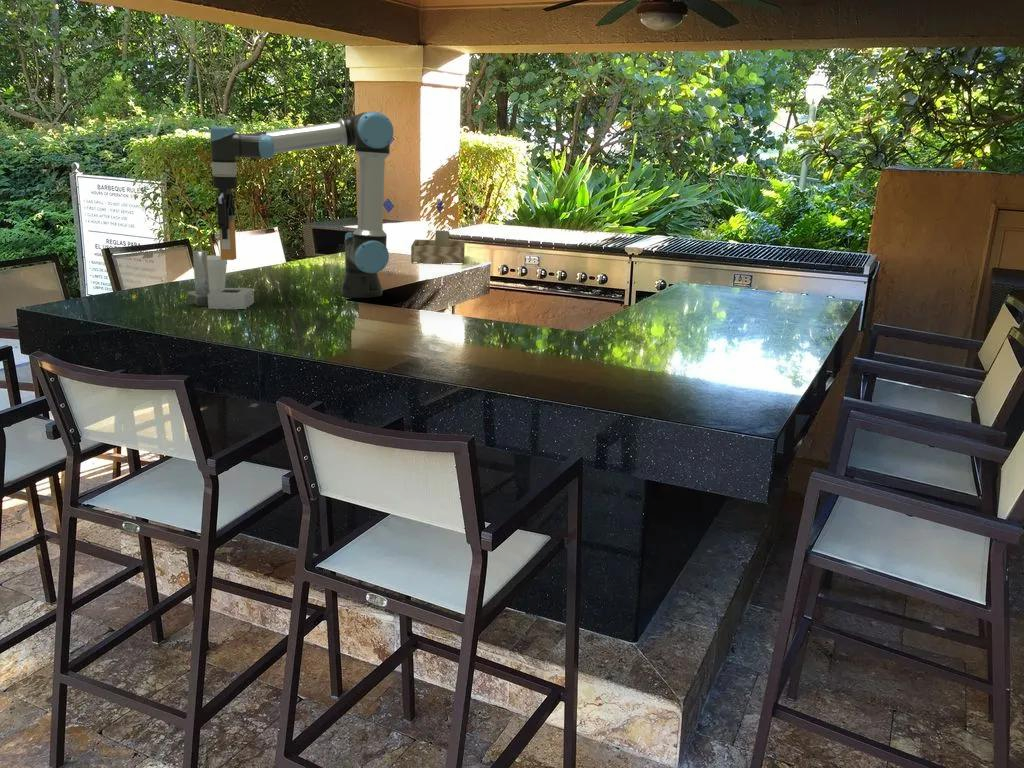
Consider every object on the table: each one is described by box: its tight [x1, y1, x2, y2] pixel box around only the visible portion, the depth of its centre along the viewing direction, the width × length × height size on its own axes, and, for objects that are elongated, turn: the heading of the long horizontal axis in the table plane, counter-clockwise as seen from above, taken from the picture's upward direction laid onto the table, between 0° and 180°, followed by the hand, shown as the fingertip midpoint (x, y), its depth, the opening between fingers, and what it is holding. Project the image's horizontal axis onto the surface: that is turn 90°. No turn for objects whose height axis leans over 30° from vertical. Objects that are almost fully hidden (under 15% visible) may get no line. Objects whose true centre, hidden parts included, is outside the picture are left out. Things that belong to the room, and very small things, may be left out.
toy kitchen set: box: [425, 229, 452, 247], centre depth 411 cm, size 18×17×15 cm
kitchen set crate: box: [410, 239, 466, 265], centre depth 412 cm, size 24×26×8 cm
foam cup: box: [207, 255, 228, 291], centre depth 308 cm, size 10×9×13 cm
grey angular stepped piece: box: [187, 250, 255, 310], centre depth 292 cm, size 20×24×18 cm
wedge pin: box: [216, 214, 237, 261], centre depth 283 cm, size 5×5×14 cm
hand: (228, 248), depth 284 cm, fingers closed on wedge pin, 4 cm apart
